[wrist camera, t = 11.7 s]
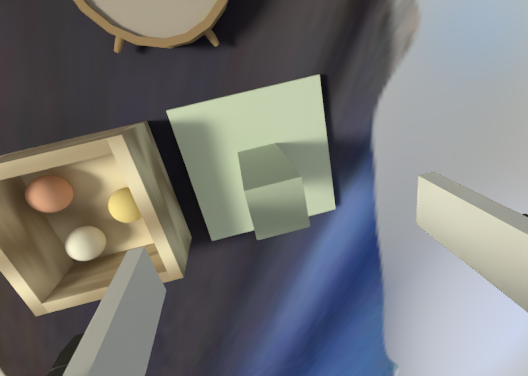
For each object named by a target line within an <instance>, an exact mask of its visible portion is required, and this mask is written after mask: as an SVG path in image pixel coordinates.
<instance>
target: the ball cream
mask: <svg viewBox="0 0 528 376" xmlns="http://www.w3.org/2000/svg"><path fill="white" fill-rule="evenodd" d="M105 245H106V238H105V235H104V233H103V232H102V231H101V230H100V229H98V228H96V227H93V226H82V227H79V228H76V229H75V230H73V231H72V232H71V233H70V234H69V235H68V236H67V238H66V240H65V250H66V252H67V254H68V255H69V256H70V257H71V258H73V259H75V260H79V261H88V260H91V259H94V258H96V257H97V256H99V255H100V254H101V253H102V252H103V250H104V248H105Z"/></svg>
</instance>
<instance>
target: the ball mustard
mask: <svg viewBox="0 0 528 376" xmlns="http://www.w3.org/2000/svg"><path fill="white" fill-rule="evenodd" d="M108 208H109V212H110V214H111V215H112V216H113V217H114V218H115V219H116V220H118V221H121V222H125V223H130V222H135V221H137V220H139V219H141V218H142V215H141V213H140V211H139V209H138V207H137V205H136V202H135V200H134V198H133V196H132V194H131V191H130V189H129V187H124V188H121V189H119V190H117V191H115V192H114V193H113V194H112V195H111V197H110V199H109V202H108Z"/></svg>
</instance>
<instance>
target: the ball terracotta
mask: <svg viewBox="0 0 528 376" xmlns="http://www.w3.org/2000/svg"><path fill="white" fill-rule="evenodd" d="M25 198H26V201H27V203H28V204H29V205H30V206H31V207H32V208H34V209H35V210H37V211H40V212H45V213H53V212H57V211H60V210H62V209H64V208H66V207H67V206H68V205H69V204H70V202H71V201H72V198H73V189H72V187H71V185H70V184H69V183H68V182H67V181H66V180H65V179H63V178H61V177H59V176H54V175H45V176H40V177H38V178H36V179H34V180H32V181H31V182H30V183H29V184H28V186H27V188H26V190H25Z"/></svg>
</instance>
